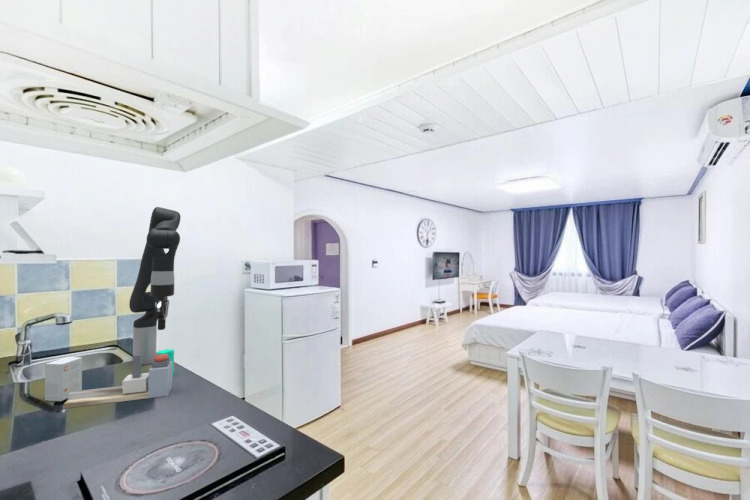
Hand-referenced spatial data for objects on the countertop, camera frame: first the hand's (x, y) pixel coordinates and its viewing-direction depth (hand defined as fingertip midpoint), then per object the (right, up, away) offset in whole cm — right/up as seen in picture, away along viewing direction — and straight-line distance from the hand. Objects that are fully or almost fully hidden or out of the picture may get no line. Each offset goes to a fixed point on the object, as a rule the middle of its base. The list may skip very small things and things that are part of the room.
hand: (161, 329), depth 128 cm
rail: (-14, -23, -6) cm, 28 cm away
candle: (-9, -24, +17) cm, 31 cm away
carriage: (-7, -21, -3) cm, 23 cm away
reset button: (0, -13, 0) cm, 13 cm away
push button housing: (0, -24, 0) cm, 24 cm away
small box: (-32, -23, -5) cm, 40 cm away
